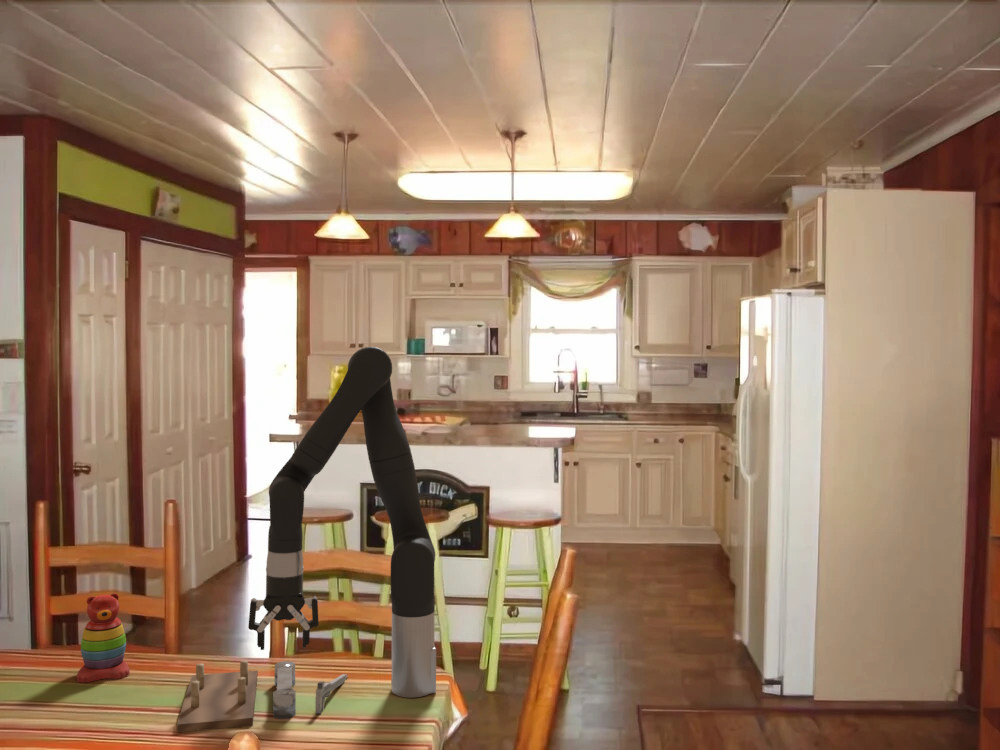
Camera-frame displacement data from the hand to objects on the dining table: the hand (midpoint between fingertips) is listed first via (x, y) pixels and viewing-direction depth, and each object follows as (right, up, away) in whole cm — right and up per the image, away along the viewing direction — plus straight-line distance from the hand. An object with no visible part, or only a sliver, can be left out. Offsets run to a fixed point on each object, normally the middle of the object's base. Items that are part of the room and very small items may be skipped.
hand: (283, 647), depth 184 cm
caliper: (+10, -11, +3) cm, 15 cm away
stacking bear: (-44, -10, +14) cm, 48 cm away
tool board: (-13, -11, -2) cm, 17 cm away
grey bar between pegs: (0, -11, 0) cm, 11 cm away
